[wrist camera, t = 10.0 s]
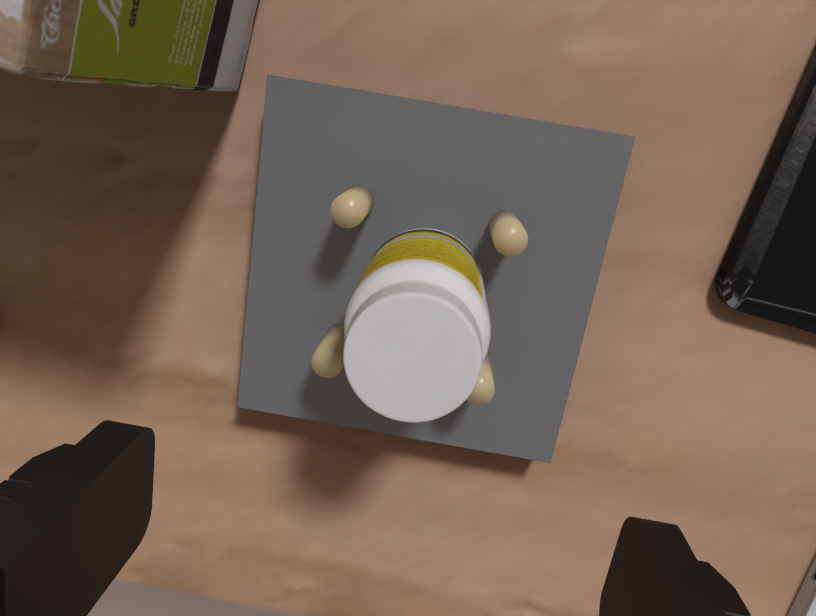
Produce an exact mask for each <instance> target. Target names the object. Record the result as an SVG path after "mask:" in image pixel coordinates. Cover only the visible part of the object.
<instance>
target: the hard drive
mask: <svg viewBox="0 0 816 616" xmlns="http://www.w3.org/2000/svg"><path fill="white" fill-rule="evenodd" d="M787 616H816V557H815V559H814V561H813V564H812V566H811V568H810V570H809V572H808V574H807V576H806V578H805V580H804V582H803V584H802V586H801V588H800V590H799V592H798V595H797V597H796V599H795V601H794V603H793V605H792V607H791V609H790V611H789V613H788V615H787Z"/></svg>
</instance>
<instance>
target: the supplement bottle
mask: <svg viewBox="0 0 816 616" xmlns="http://www.w3.org/2000/svg"><path fill="white" fill-rule="evenodd" d="M490 336H491V323H490V316H489V311H488V306H487V301H486V295H485V289H484V283H483V278H482V273H481V269H480V267H479V264H478V262H477V260H476V258H475V257H474V255H473V254H472V252H471V251H470V249H469V248H468V247H467V246H466V245H465V244H464V243H463V242H462V241H460V240H459V239H458V238H456V237H455V236H453V235H451V234H449V233H447V232H444V231H441V230H437V229H431V228H417V229H411V230H407V231H404V232H402V233H399V234H397V235H395V236H393V237H392V238H390V239H389V240H388V241H386V242H385V243H384V244H383V245H382V246H381V247H380V248H379V249H378V250H377V251H376V253H375V254H374V256H373V258H372V260H371V261H370V263H369V265H368V267H367V269H366V270H365V272H364V274H363V276H362V278H361V279H360V281H359V283H358V285H357V287H356V289H355V290H354V292H353V294H352V296H351V298H350V300H349V303H348V306H347V309H346V313H345V319H344V339H345V342H344V349H343V362H344V368H345V373H346V376H347V379H348V381H349V383H350V385H351V387H352V389H353V390H354V392H355V393H356V395H357V396H358V397H359V398H360V399H361V401H362V402H364V403H365V404H366V405H367V406H368V407H369V408H371V409H372V410H374V411H375V412H377V413H379V414H381V415H383V416H385V417H387V418H390V419H393V420H397V421H402V422H426V421H431V420H434V419H437V418H440V417H442V416H445V415H447V414H448V413H450V412H452V411H454V410H455V409H456V408H458V407H459V406H460V405H461V404H462V403H463V402H464V401H465V400H466V399H467V398H468V397H469V395H470V394H471V393H472V391H473V390H474V388H475V386H476V384H477V381H478V379H479V376H480V372H481V366H482V364H483V362H484V360H485V357H486V355H487V352H488V348H489V344H490Z"/></svg>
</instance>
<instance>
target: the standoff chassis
mask: <svg viewBox="0 0 816 616" xmlns="http://www.w3.org/2000/svg"><path fill="white" fill-rule="evenodd" d="M634 138H635V137H633V136H627V135H621V134H615V133H609V132H603V131H597V130H591V129H585V128H579V127H574V126H568V125H562V124H556V123H550V122H544V121H538V120H532V119H526V118H520V117H514V116H508V115H503V114H497V113H491V112H485V111H479V110H473V109H467V108H461V107H455V106H449V105H443V104H437V103H432V102H426V101H420V100H414V99H408V98H402V97H396V96H390V95H384V94H378V93H372V92H367V91H361V90H355V89H349V88H343V87H337V86H331V85H325V84H319V83H313V82H307V81H301V80H296V79H290V78H284V77H278V76H272V75H267V86H266V97H265V108H264V119H263V130H262V141H261V152H260V163H259V174H258V185H257V196H256V207H255V218H254V229H253V240H252V251H251V262H250V273H249V284H248V295H247V306H246V317H245V328H244V339H243V350H242V362H241V373H240V384H239V395H238V406H237V407H239V408H245V409H251V410H256V411H262V412H267V413H273V414H278V415H284V416H290V417H295V418H301V419H306V420H312V421H318V422H323V423H329V424H334V425H340V426H346V427H351V428H357V429H362V430H368V431H373V432H379V433H385V434H390V435H396V436H401V437H407V438H413V439H418V440H424V441H429V442H435V443H440V444H446V445H452V446H457V447H463V448H468V449H474V450H480V451H485V452H491V453H496V454H502V455H508V456H513V457H519V458H524V459H530V460H535V461H541V462H547V463H551V459H552V455H553V451H554V447H555V444H556V440H557V436H558V432H559V428H560V424H561V420H562V417H563V413H564V409H565V405H566V401H567V397H568V393H569V389H570V386H571V382H572V378H573V374H574V370H575V366H576V362H577V358H578V355H579V351H580V347H581V343H582V339H583V335H584V331H585V328H586V324H587V320H588V316H589V312H590V308H591V304H592V300H593V297H594V293H595V289H596V285H597V281H598V277H599V273H600V269H601V266H602V262H603V258H604V254H605V250H606V246H607V242H608V239H609V235H610V231H611V227H612V223H613V219H614V215H615V211H616V208H617V204H618V200H619V196H620V192H621V188H622V184H623V180H624V177H625V173H626V169H627V165H628V161H629V157H630V153H631V150H632V146H633V142H634ZM417 228H431V229H437V230H441V231H444V232H447V233H449V234H451V235H453V236H455V237H456V238H458V239H459V240H460V241H462V242H463V243H464V244H465V245H466V246H467V247H468V248H469V249H470V251H471V252H472V254H473V255H474V257H475V258H476V260H477V262H478V264H479V267H480V269H481V273H482V278H483V283H484V289H485V295H486V301H487V306H488V311H489V316H490V323H491V336H490V344H489V348H488V352H487V355H486V357H485V360H484V362H483V364H482V366H481V372H480V376H479V379H478V381H477V384H476V386H475V388H474V390H473V391H472V393H471V394H470V395H469V397H468V398H467V399H466V400H465V401H464V402H463V403H462V404H461V405H460V406H459V407H458V408H456V409H455V410H454V411H452V412H450V413H448V414H447V415H445V416H442V417H440V418H437V419H434V420H431V421H426V422H402V421H397V420H393V419H390V418H387V417H385V416H383V415H381V414H379V413H377V412H375V411H374V410H372V409H371V408H369V407H368V406H367V405H366V404H365V403H364V402H362V401H361V399H360V398H359V397H358V396H357V395H356V393H355V392H354V390H353V389H352V387H351V385H350V383H349V381H348V379H347V376H346V373H345V368H344V362H343V349H344V342H345V339H344V319H345V313H346V309H347V306H348V303H349V300H350V298H351V296H352V294H353V292H354V290H355V289H356V287H357V285H358V283H359V281H360V279H361V278H362V276H363V274H364V272H365V270H366V269H367V267H368V265H369V263H370V261H371V260H372V258H373V256H374V254H375V253H376V251H377V250H378V249H379V248H380V247H381V246H382V245H383V244H384V243H385V242H386V241H388V240H389V239H390V238H392V237H393V236H395V235H397V234H399V233H402V232H404V231H407V230H411V229H417Z"/></svg>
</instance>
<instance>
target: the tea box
mask: <svg viewBox="0 0 816 616" xmlns="http://www.w3.org/2000/svg"><path fill="white" fill-rule="evenodd" d="M257 4H258V0H0V70H2V71H5V72H7V73H9V74H12V75H17V76H23V77H29V78H36V79H44V80H53V81H64V82H75V83H93V84H118V85H126V86H133V87H165V88H173V89H175V88H177V89H189V90H210V91H229V92H235V91H237V90H238V87H239V84H240V80H241V76H242V71H243V67H244V63H245V59H246V55H247V51H248V46H249V42H250V37H251V31H252V25H253V21H254V16H255V12H256V8H257Z"/></svg>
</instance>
